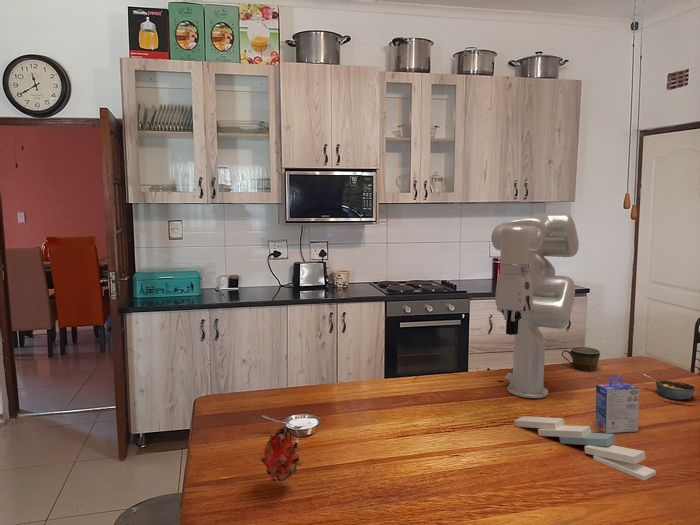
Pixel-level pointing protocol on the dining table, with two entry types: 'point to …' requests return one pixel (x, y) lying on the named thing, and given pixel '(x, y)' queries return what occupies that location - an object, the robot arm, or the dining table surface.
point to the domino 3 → (590, 439)
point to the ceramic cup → (584, 358)
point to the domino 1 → (539, 422)
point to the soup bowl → (674, 390)
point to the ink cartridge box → (617, 406)
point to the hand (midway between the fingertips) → (511, 334)
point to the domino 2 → (566, 431)
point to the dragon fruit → (281, 456)
